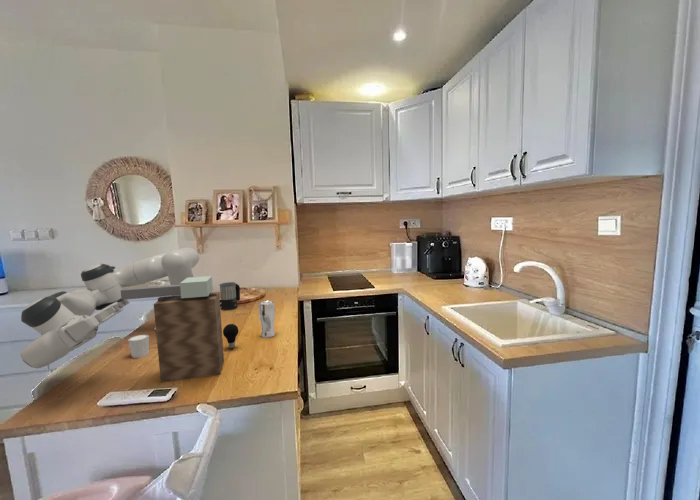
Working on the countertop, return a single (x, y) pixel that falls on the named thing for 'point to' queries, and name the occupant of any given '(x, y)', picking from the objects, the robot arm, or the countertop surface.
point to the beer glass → (267, 318)
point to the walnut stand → (189, 336)
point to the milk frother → (229, 295)
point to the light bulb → (230, 334)
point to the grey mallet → (173, 289)
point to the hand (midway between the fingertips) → (121, 304)
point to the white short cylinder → (139, 345)
